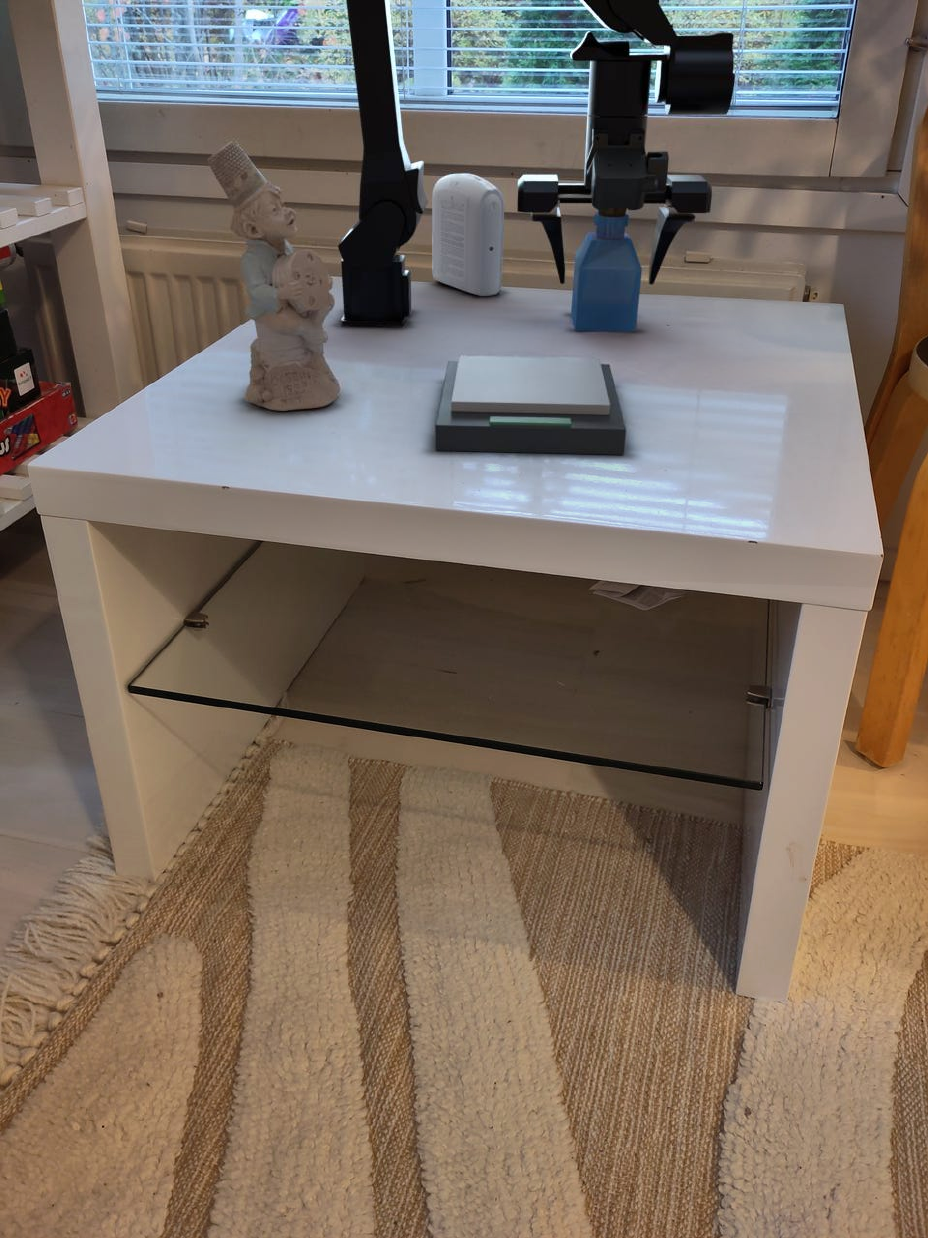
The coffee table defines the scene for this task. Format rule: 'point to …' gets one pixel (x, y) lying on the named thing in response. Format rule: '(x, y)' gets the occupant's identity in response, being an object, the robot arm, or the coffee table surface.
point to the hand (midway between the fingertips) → (606, 283)
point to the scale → (529, 406)
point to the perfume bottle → (606, 277)
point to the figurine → (278, 291)
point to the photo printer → (467, 234)
